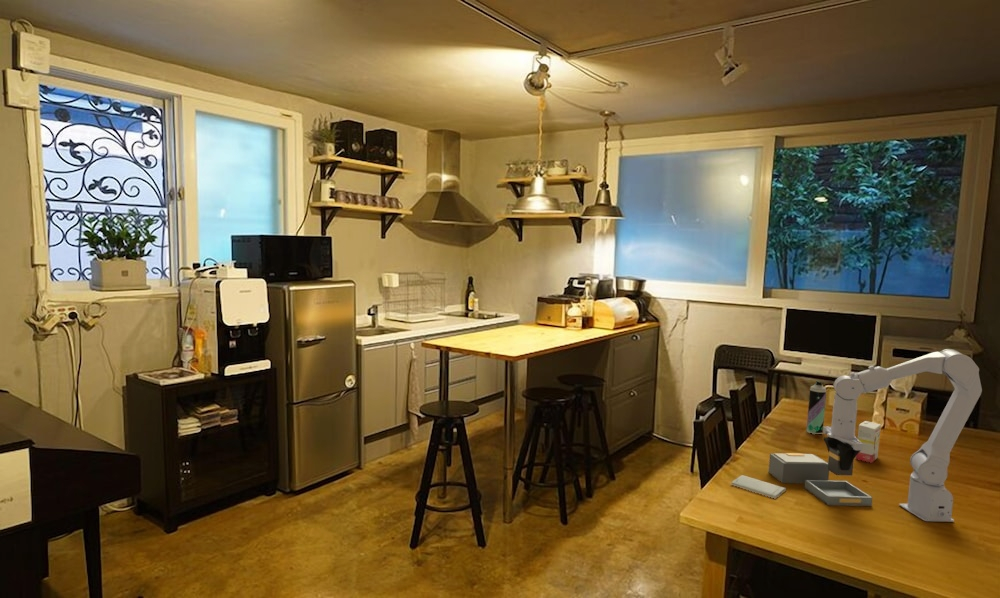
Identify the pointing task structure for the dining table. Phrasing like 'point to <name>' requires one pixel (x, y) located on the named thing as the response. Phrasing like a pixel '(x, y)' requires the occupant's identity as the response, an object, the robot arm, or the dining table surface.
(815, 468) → the pale grey flat box
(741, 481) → the hard drive
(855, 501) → the tray
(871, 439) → the ink box
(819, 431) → the spray can
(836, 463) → the block
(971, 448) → the dining table surface
